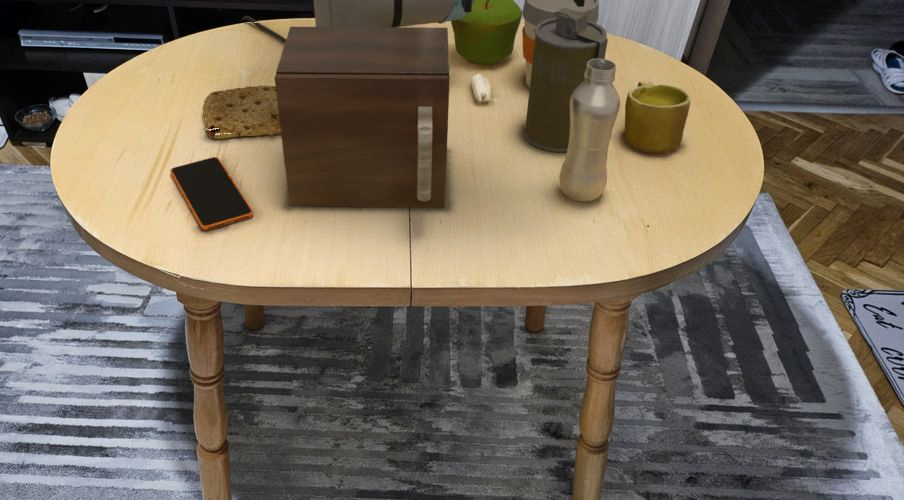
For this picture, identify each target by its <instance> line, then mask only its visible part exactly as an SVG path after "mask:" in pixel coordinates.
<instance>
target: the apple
mask: <svg viewBox="0 0 904 500" xmlns="http://www.w3.org/2000/svg"><path fill="white" fill-rule="evenodd" d="M522 12H523V9H521V7H520V6H519V5H518V4H517V2H516V1H515V0H474V3H473V5H472V8H471V12H468V14H467V15H466V16H465V17H463V18H461V19H458V20H453V21H450V23H451V24H450V25H451V28H452V33H453V38H454V48H455V51H456V53H457V54H458V55H459V56H460V57H462V58H463V59H464V60H466V61H467V62H468V63H470V64H473V65H476V66H485V67H486V66H494V65H497V64H500V63H501V62H503V61H505V60H507V59H508V58H509V57H510V56H512V53H513V52H514V46H515V41H516V37H517V36H516V35H517V33H518V30H519V28H520V25H521V21H522V17H523V14H522Z"/></svg>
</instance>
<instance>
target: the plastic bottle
mask: <svg viewBox="0 0 904 500" xmlns="http://www.w3.org/2000/svg"><path fill="white" fill-rule="evenodd" d="M616 70H617V65H616V63H615V62H614V61H612V60H610V59H607V58H606V59H592V60H590V61H588V63H587V67H586V71H585V74H584V78H585V79H586V80H584V81H583V82H582V83H581V84H580V85H579V86H578V87H577V88H576V89H575V90H574V91H573V93H572V95H571V98H570V132H569V135H570V136H569V144H568V148H567V152H565V156H564V161H563V163H562V165H561V168H560V172H559V176H558V180H559V188H560V190H561V191H562V193H563V194H564V196H566V197H567V198H569V199H571V200H573V201H577V202H591V201H595V200H597V199H598V198H599V197H600V196H602V195H603V194H604V191H605V189H606V186H607V182H608V168H607V163H608V162H607V161H608V153H609V152H608V150H609V145H610V141H611V136H612V132H613V129H614V126H615V123H616V120H617V118H618V114H619V111H620V107H621V100H620V99H621V98H620V96H619V93H618V91H617V89H616V87H615V85H614V84H613V83H614V81H615V79H616V72H617V71H616Z"/></svg>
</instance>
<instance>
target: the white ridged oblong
mask: <svg viewBox="0 0 904 500" xmlns="http://www.w3.org/2000/svg"><path fill="white" fill-rule="evenodd" d="M471 89H472V92H473V96H474V99H476V100H477V101H478V102H479V103H482V102H488V101H490V99H491V98H492V86H491V84H490V82H489V80H488V78H487V77H485V76H484V75H482V74H481V73H477V74H474V75H472V77H471Z"/></svg>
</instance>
